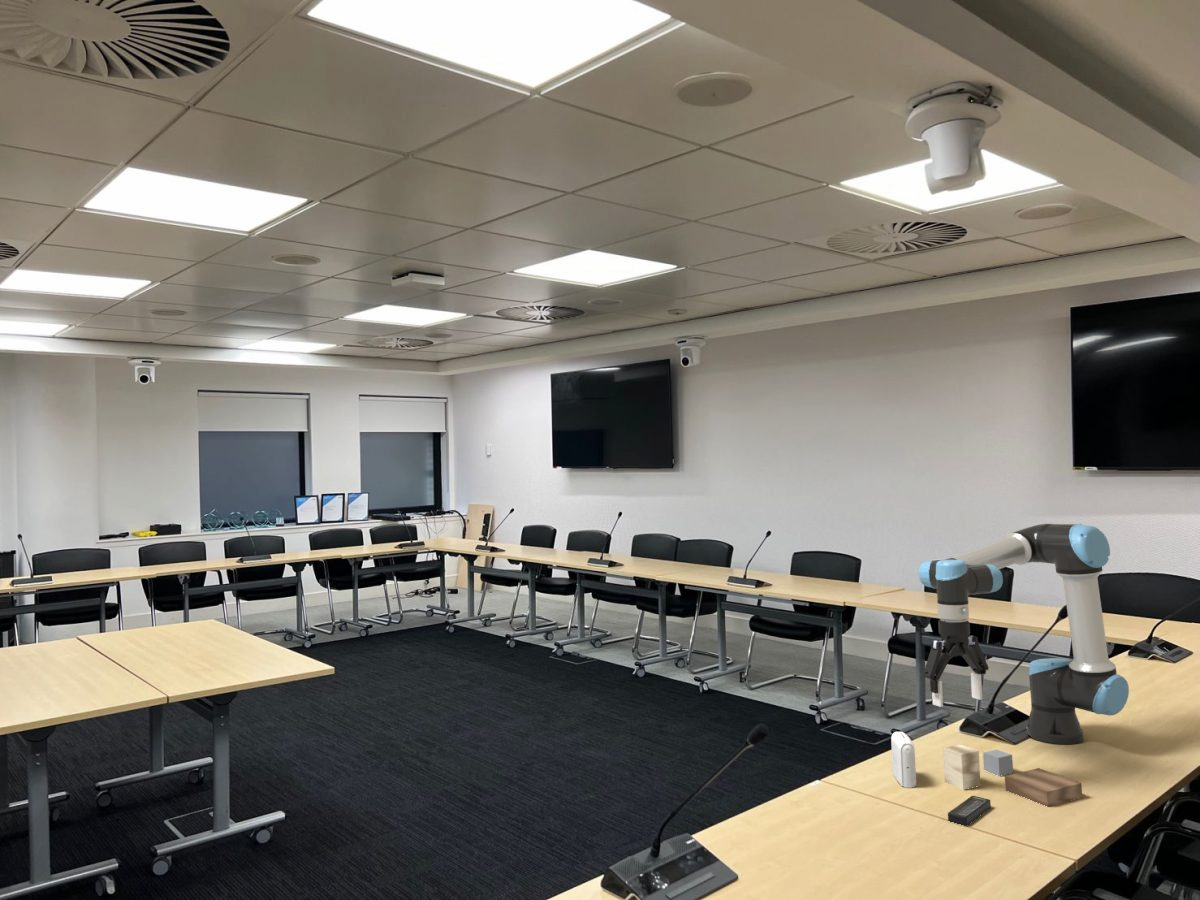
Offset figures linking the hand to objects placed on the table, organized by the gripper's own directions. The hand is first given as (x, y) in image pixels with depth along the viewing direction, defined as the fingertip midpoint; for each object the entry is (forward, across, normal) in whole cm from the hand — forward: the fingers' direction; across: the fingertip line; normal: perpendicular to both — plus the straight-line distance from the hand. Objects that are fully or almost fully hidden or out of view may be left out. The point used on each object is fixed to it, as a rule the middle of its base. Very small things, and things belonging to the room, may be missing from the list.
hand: (957, 702), depth 214 cm
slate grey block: (+21, +15, +2) cm, 26 cm away
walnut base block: (+22, +12, -14) cm, 28 cm away
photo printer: (+22, -11, +9) cm, 26 cm away
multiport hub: (+22, -13, -14) cm, 29 cm away
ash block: (+21, 0, 0) cm, 21 cm away
